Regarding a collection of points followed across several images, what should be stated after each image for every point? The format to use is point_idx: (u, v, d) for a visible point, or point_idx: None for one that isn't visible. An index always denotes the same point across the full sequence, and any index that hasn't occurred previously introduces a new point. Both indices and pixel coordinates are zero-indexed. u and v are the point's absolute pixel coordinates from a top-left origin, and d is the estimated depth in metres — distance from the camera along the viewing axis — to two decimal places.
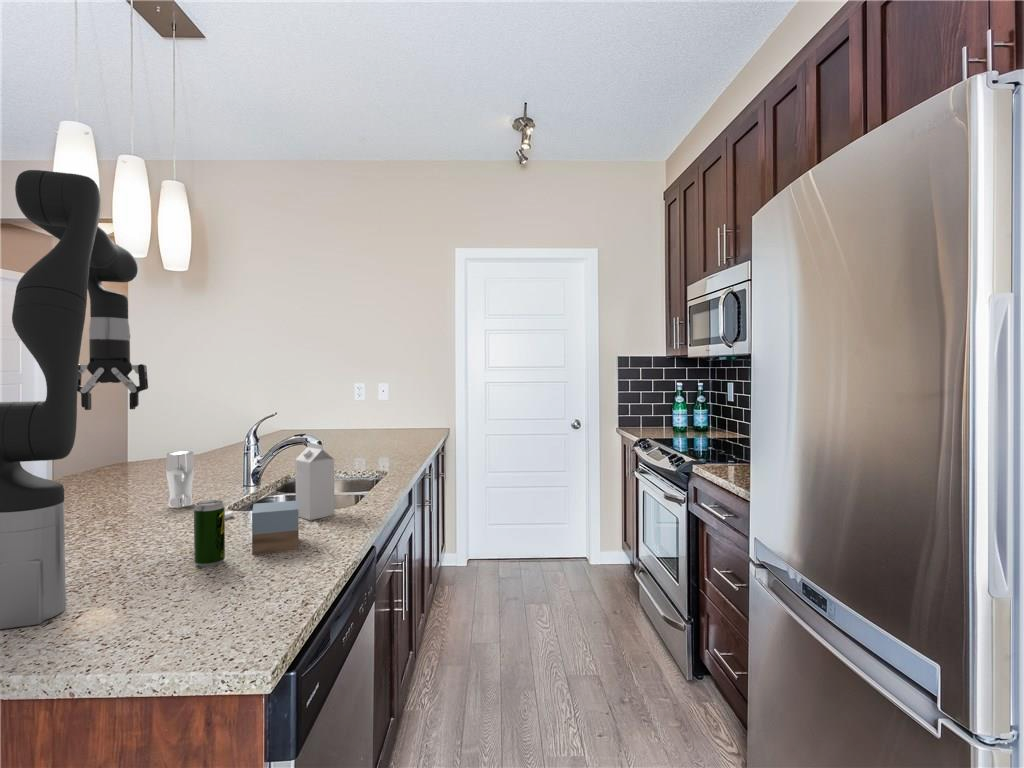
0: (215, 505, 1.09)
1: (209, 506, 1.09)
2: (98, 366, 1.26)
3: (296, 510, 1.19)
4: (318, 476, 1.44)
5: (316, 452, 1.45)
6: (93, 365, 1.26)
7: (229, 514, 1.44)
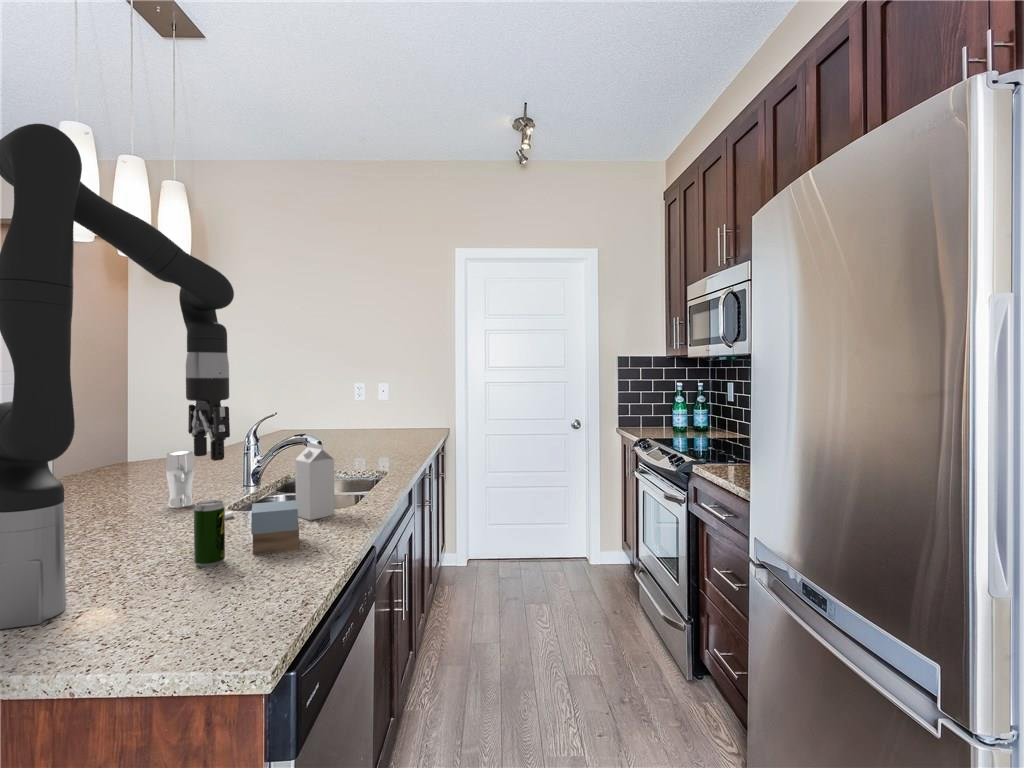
0: (215, 505, 1.09)
1: (209, 506, 1.09)
2: None
3: (295, 510, 1.19)
4: (318, 476, 1.44)
5: (316, 452, 1.45)
6: None
7: (229, 514, 1.44)
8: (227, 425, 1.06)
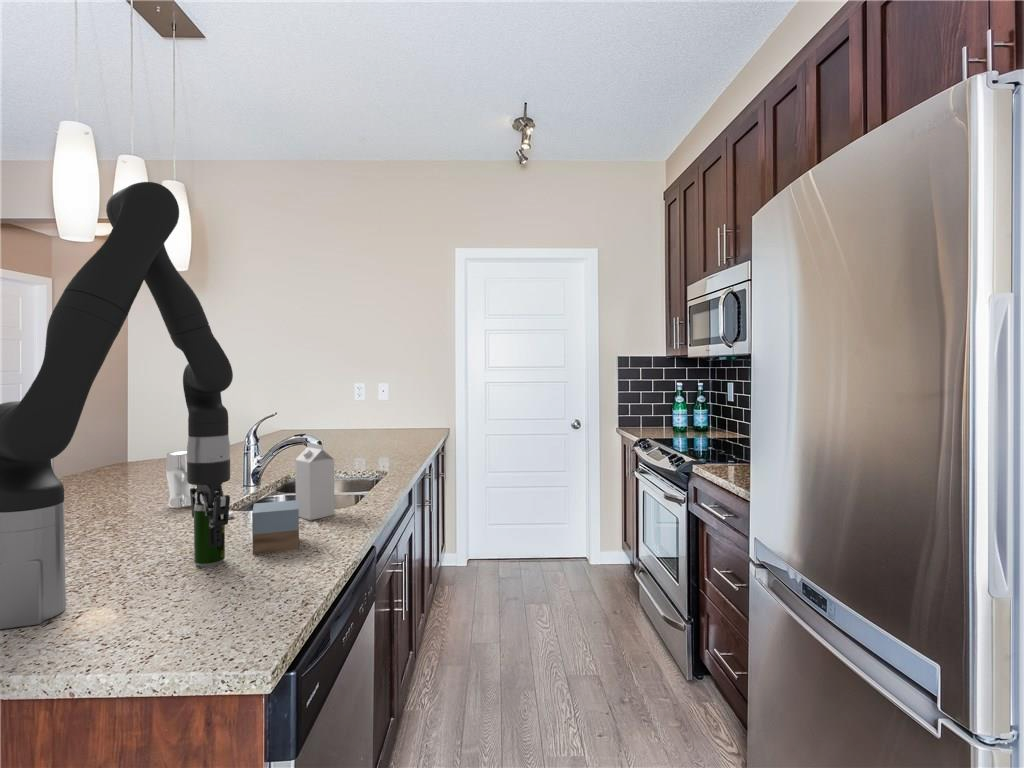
0: None
1: None
2: None
3: (296, 510, 1.19)
4: (318, 476, 1.44)
5: (316, 452, 1.45)
6: None
7: (229, 514, 1.44)
8: (226, 514, 1.07)
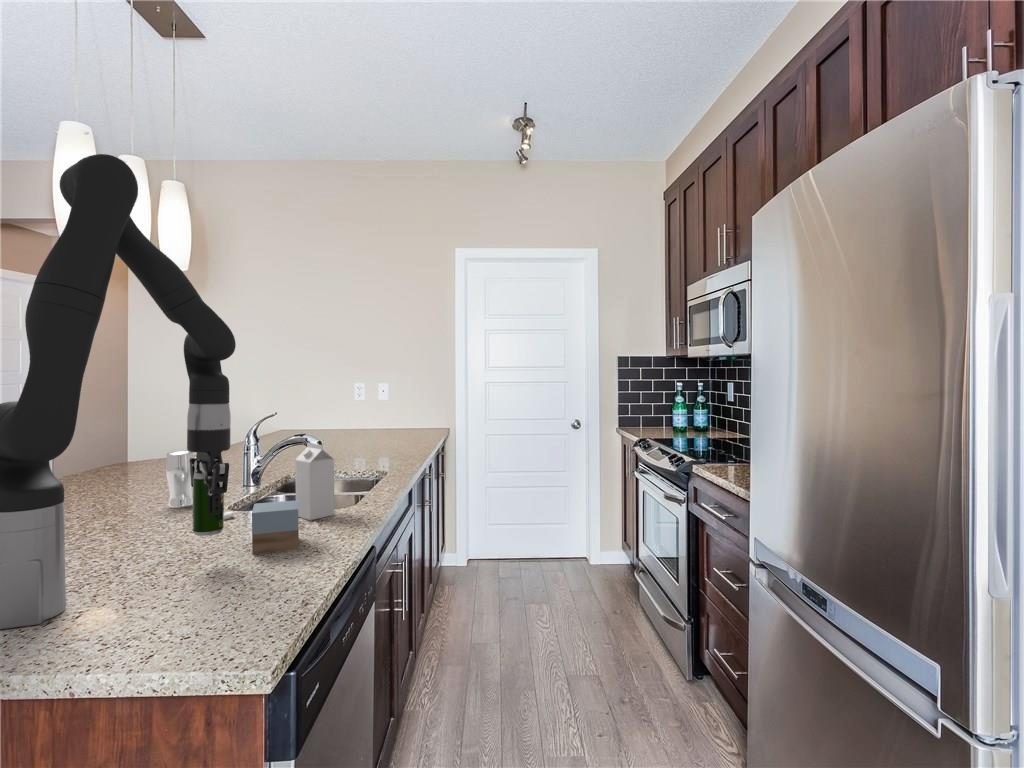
0: None
1: None
2: None
3: (296, 510, 1.19)
4: (318, 476, 1.44)
5: (316, 452, 1.45)
6: None
7: (229, 514, 1.44)
8: (225, 482, 1.07)
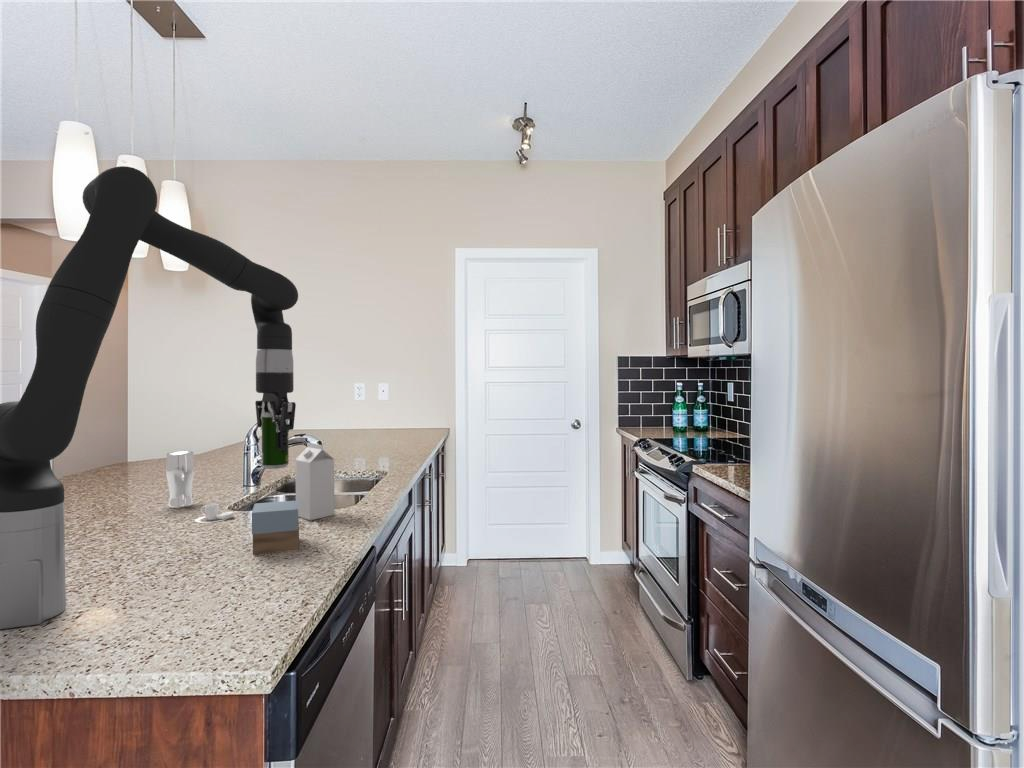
0: None
1: None
2: None
3: (296, 510, 1.19)
4: (318, 476, 1.44)
5: (316, 452, 1.45)
6: None
7: (229, 514, 1.44)
8: (292, 419, 1.18)
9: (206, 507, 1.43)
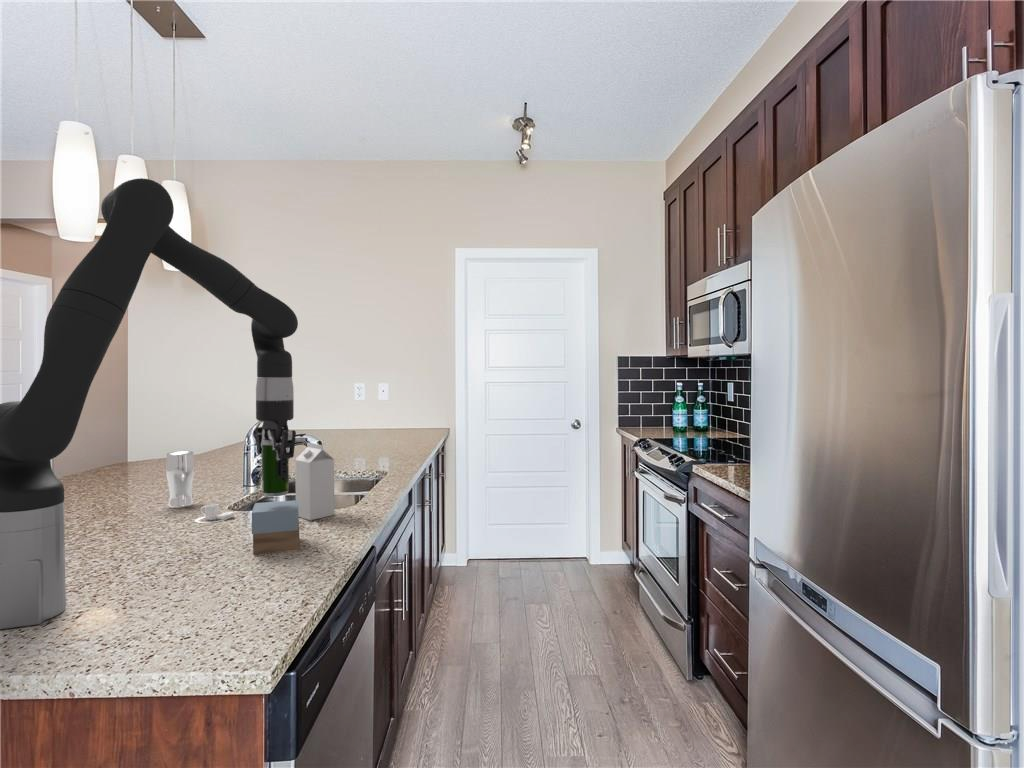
0: None
1: None
2: None
3: (296, 510, 1.19)
4: (318, 476, 1.44)
5: (316, 452, 1.45)
6: None
7: (229, 515, 1.44)
8: (292, 447, 1.18)
9: (206, 507, 1.43)
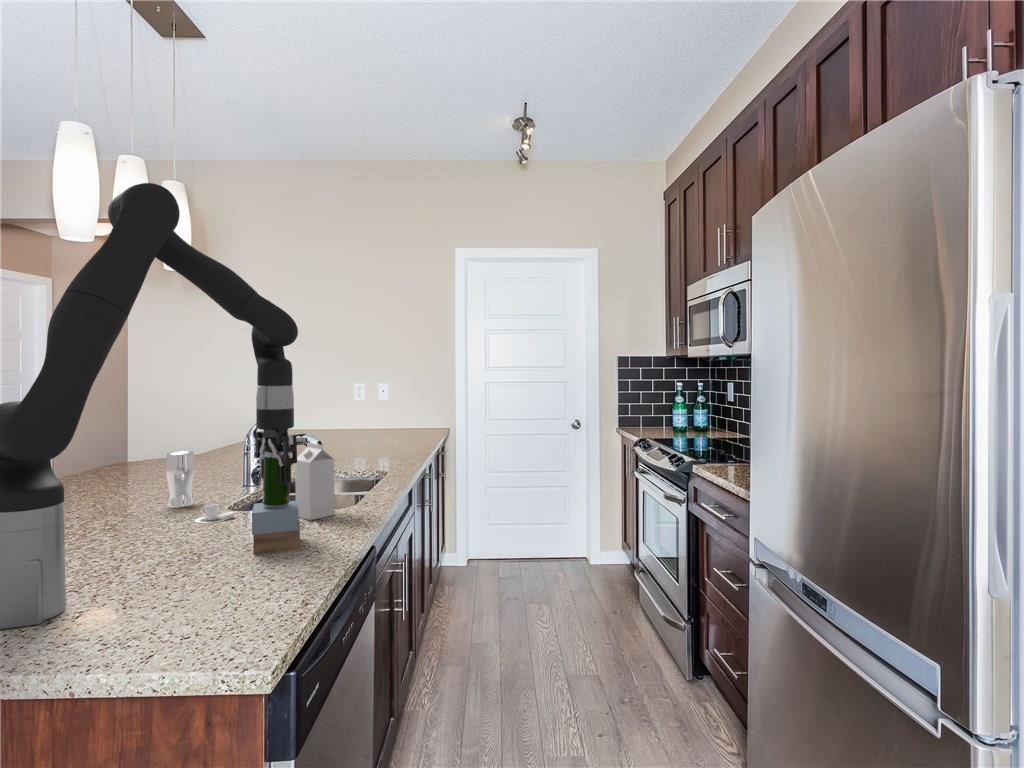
0: None
1: None
2: None
3: (296, 510, 1.19)
4: (318, 476, 1.44)
5: (316, 452, 1.45)
6: None
7: (230, 515, 1.44)
8: (295, 452, 1.18)
9: (206, 507, 1.43)
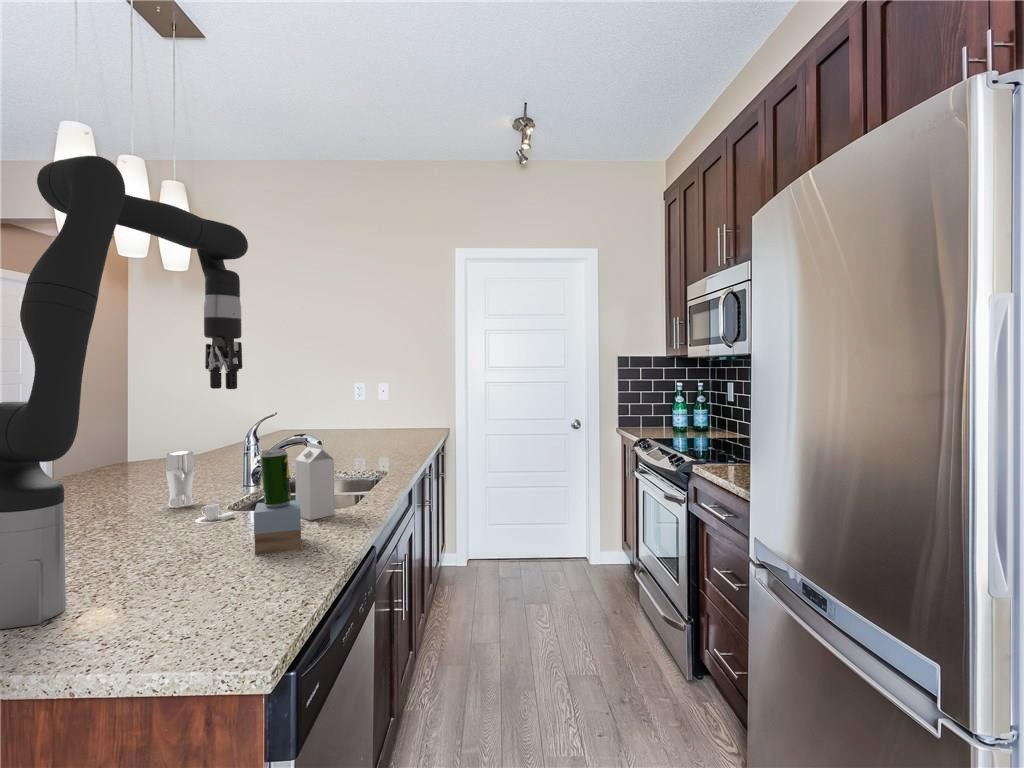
0: (280, 451, 1.20)
1: (275, 452, 1.19)
2: None
3: (298, 510, 1.19)
4: (318, 476, 1.44)
5: (316, 452, 1.45)
6: None
7: (230, 515, 1.44)
8: (240, 358, 1.22)
9: (206, 507, 1.42)
